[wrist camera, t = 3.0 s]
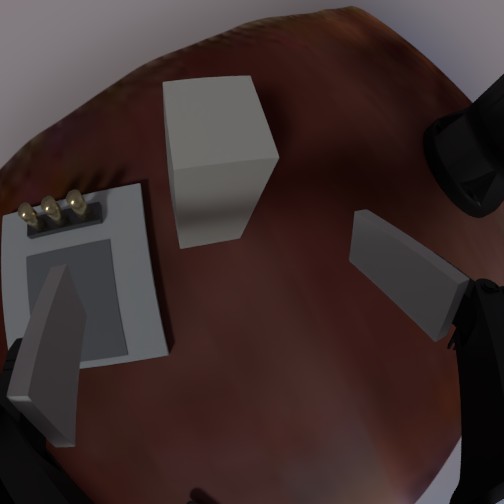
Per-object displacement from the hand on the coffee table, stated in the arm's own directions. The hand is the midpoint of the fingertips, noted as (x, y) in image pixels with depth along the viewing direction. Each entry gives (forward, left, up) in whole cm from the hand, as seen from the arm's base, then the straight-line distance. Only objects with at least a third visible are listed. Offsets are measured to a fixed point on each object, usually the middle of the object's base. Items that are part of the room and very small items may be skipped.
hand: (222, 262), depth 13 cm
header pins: (+11, -8, -10) cm, 17 cm away
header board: (+11, -3, -11) cm, 16 cm away
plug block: (-1, -7, -11) cm, 14 cm away
